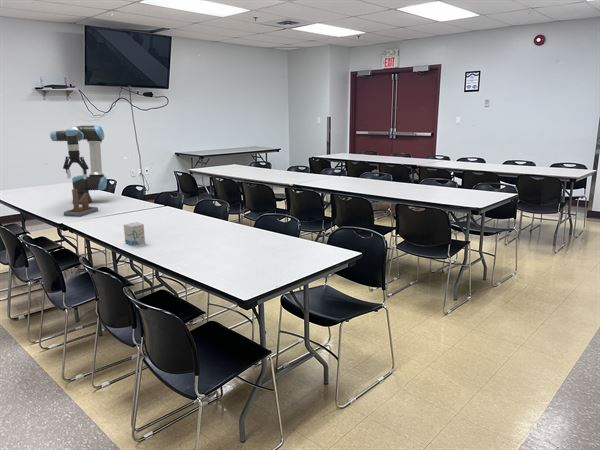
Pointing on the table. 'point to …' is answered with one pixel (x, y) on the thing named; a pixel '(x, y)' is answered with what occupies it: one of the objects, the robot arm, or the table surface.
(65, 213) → the tray
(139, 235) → the ink box
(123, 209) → the table surface
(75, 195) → the brown tapered wooden part
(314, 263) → the table surface
